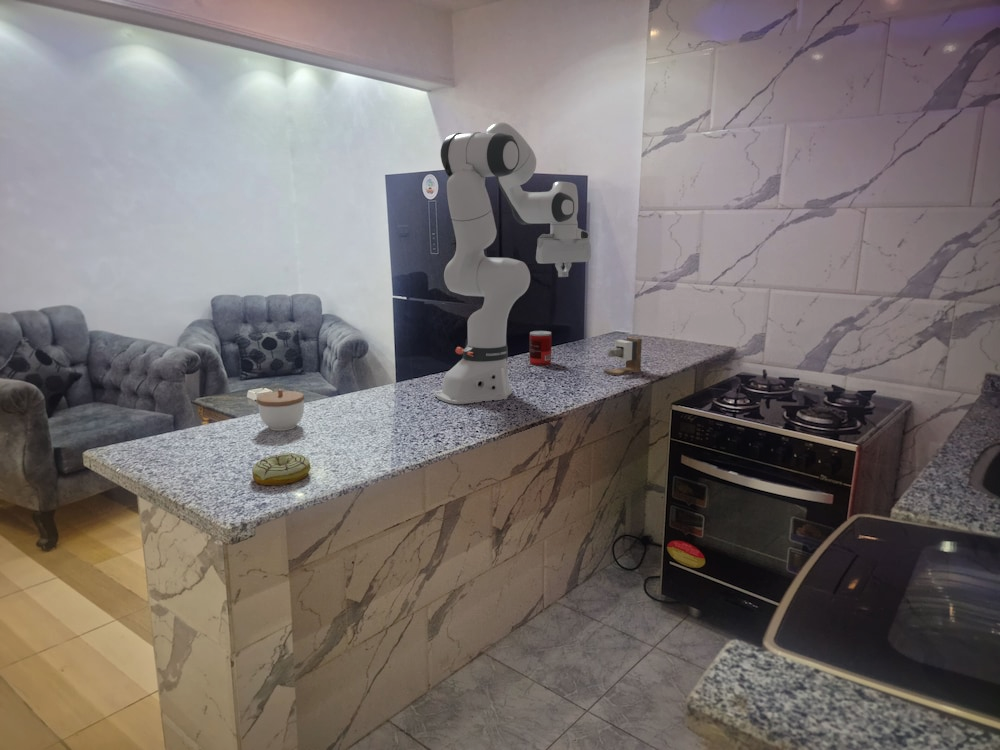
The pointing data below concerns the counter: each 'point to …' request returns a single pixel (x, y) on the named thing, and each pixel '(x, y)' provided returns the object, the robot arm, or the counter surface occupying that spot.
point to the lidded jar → (281, 409)
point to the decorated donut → (281, 469)
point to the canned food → (540, 347)
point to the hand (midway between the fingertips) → (563, 276)
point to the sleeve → (627, 350)
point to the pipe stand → (630, 365)
